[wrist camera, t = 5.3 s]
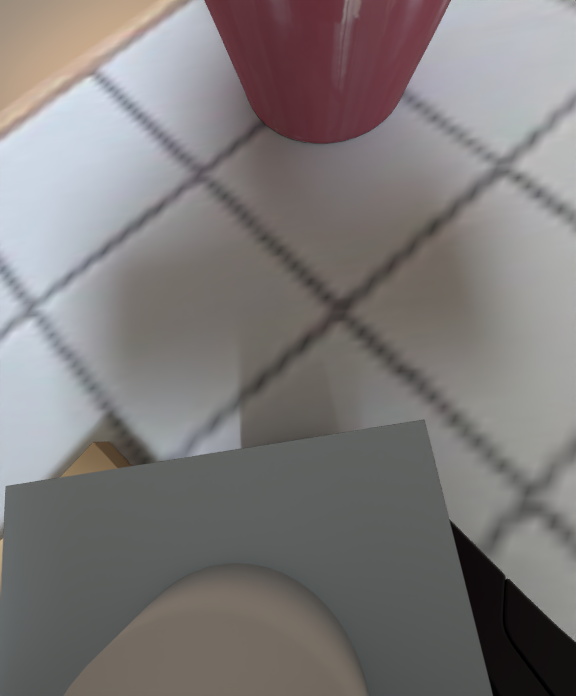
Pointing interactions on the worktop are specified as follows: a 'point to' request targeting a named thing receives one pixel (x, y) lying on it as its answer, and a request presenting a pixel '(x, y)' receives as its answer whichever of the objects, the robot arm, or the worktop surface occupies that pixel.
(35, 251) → the worktop surface
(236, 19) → the plant pot
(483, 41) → the worktop surface
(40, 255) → the worktop surface
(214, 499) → the tall gray juice carton
